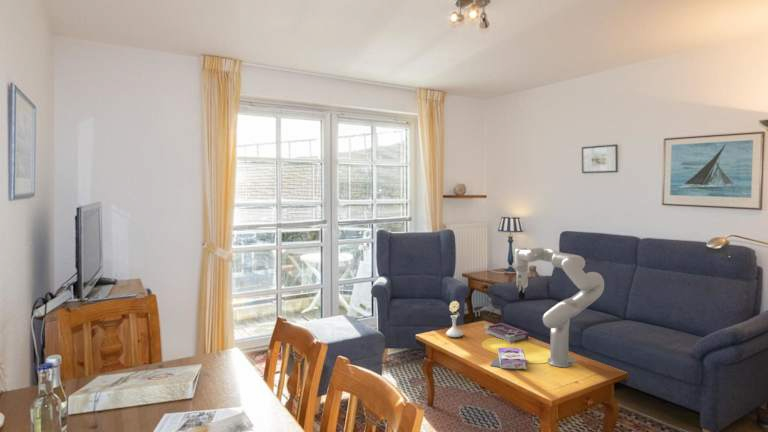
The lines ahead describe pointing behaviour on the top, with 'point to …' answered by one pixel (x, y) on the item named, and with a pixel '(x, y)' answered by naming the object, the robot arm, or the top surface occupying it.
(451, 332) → the flower in vase
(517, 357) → the candy box
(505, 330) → the book
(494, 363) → the mat
